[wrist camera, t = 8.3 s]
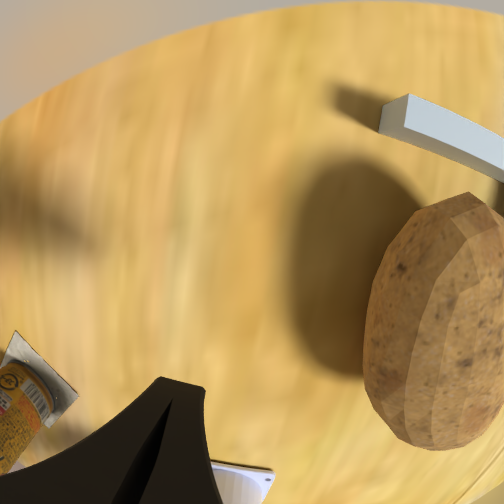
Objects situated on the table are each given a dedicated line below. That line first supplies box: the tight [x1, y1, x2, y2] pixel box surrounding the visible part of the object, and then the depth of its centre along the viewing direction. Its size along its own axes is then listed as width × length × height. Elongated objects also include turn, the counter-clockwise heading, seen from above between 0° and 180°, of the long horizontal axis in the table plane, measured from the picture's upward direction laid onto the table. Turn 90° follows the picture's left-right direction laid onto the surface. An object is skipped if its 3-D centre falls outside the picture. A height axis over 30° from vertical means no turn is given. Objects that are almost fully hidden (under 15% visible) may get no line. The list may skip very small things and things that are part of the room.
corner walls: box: [378, 94, 504, 183], centre depth 15 cm, size 16×13×4 cm
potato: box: [362, 192, 504, 450], centre depth 14 cm, size 10×14×8 cm
